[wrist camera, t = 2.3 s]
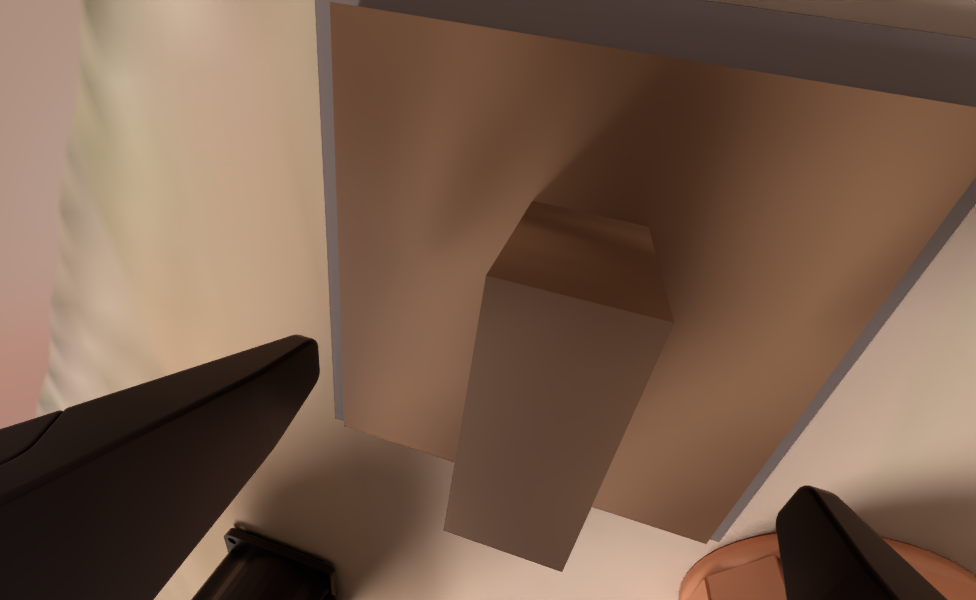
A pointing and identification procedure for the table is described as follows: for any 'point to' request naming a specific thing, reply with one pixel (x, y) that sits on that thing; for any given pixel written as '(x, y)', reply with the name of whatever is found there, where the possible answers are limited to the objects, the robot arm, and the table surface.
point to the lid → (608, 263)
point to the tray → (714, 40)
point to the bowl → (759, 579)
